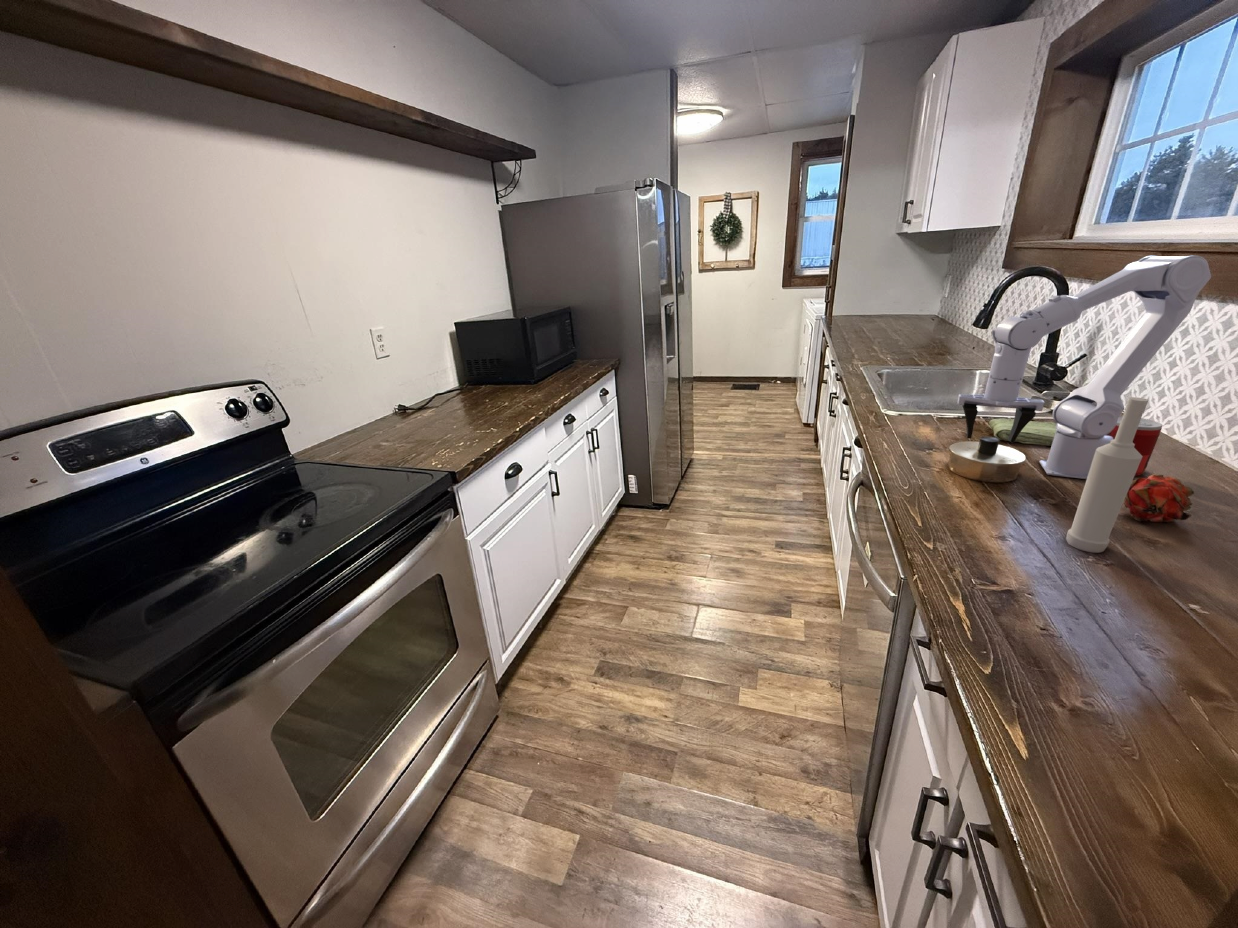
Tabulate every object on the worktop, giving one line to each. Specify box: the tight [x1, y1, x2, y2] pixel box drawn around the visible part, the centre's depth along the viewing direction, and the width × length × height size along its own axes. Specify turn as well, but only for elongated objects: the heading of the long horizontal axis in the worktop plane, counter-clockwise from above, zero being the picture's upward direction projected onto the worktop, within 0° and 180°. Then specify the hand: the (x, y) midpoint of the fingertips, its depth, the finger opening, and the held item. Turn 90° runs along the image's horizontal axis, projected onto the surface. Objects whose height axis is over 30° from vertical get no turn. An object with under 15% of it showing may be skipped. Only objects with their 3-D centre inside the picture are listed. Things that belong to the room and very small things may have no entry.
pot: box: [948, 452, 1022, 484], centre depth 110 cm, size 13×13×4 cm
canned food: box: [1107, 416, 1163, 477], centre depth 106 cm, size 8×8×11 cm
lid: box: [948, 436, 1026, 466], centre depth 109 cm, size 14×14×4 cm
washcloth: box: [989, 417, 1057, 447], centre depth 128 cm, size 13×18×3 cm
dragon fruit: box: [1124, 473, 1195, 523], centre depth 88 cm, size 8×8×12 cm
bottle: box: [1065, 396, 1149, 554], centre depth 78 cm, size 5×5×25 cm
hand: (989, 439), depth 108 cm, fingers open, 7 cm apart
